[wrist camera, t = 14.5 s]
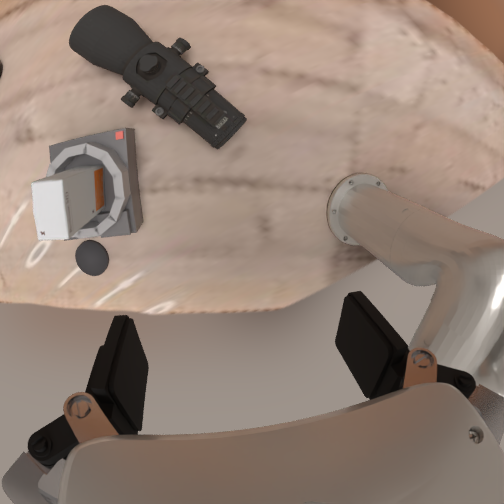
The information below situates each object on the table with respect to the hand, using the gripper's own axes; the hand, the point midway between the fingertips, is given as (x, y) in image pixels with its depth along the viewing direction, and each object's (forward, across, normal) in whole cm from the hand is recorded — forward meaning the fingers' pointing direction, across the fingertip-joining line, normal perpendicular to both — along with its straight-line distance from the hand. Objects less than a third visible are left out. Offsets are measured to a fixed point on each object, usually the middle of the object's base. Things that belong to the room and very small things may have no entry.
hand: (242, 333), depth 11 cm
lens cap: (+31, +21, +9) cm, 38 cm away
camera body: (+30, +17, -3) cm, 35 cm away
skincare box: (+26, +17, -3) cm, 31 cm away
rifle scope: (+31, +7, -17) cm, 36 cm away
